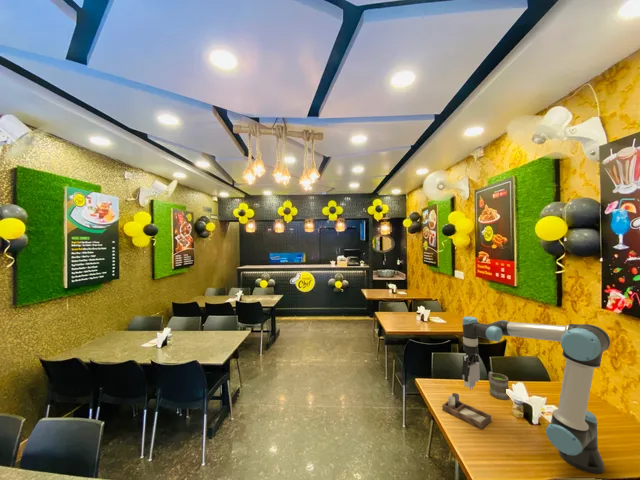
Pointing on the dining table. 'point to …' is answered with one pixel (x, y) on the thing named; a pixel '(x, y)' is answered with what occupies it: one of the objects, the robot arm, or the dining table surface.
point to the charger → (474, 373)
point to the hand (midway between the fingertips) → (471, 383)
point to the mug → (498, 385)
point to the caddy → (466, 412)
